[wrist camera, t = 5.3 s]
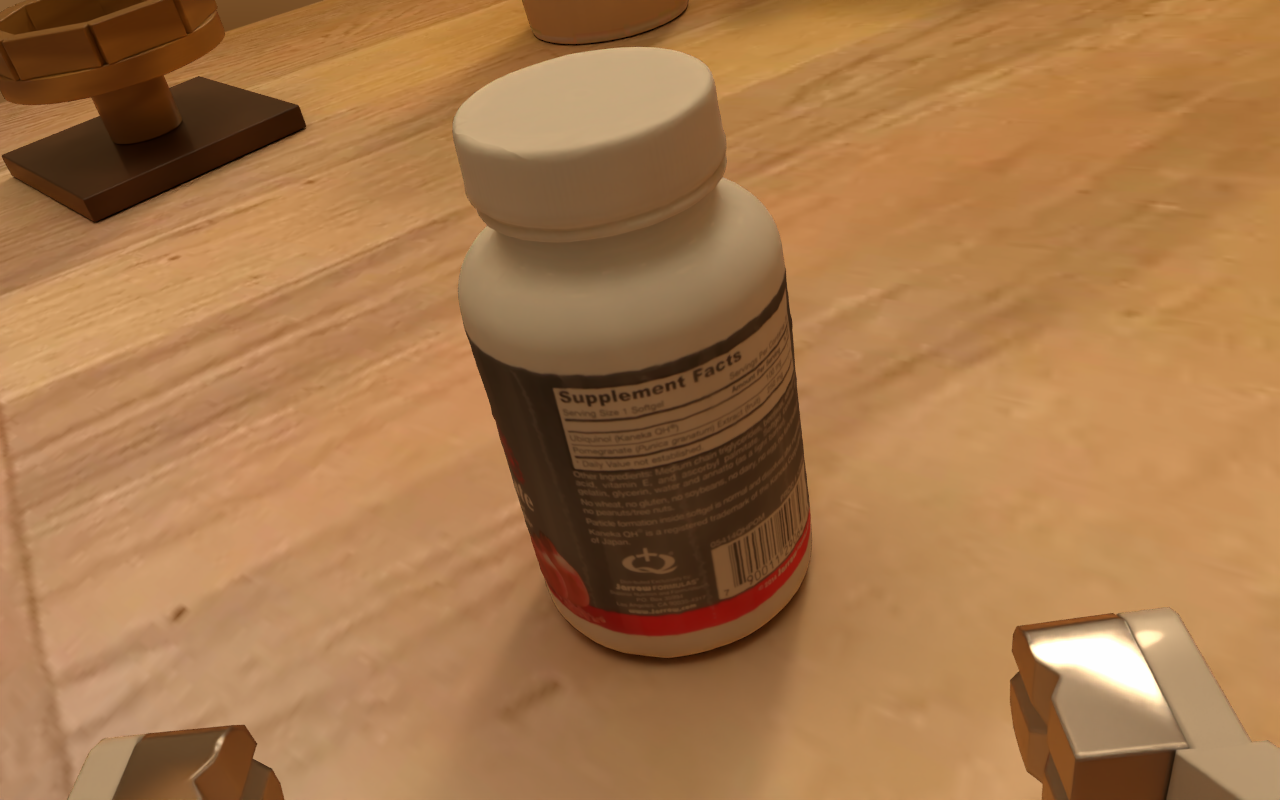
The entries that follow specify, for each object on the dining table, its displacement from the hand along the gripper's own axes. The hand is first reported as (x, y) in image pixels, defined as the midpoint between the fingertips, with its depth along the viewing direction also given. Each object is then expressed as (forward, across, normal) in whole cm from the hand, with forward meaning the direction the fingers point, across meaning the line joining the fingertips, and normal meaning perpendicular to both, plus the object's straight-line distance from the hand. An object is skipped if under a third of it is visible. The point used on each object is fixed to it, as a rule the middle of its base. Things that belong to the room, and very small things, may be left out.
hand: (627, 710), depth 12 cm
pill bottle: (+8, 0, +6) cm, 10 cm away
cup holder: (+38, +21, +6) cm, 44 cm away
